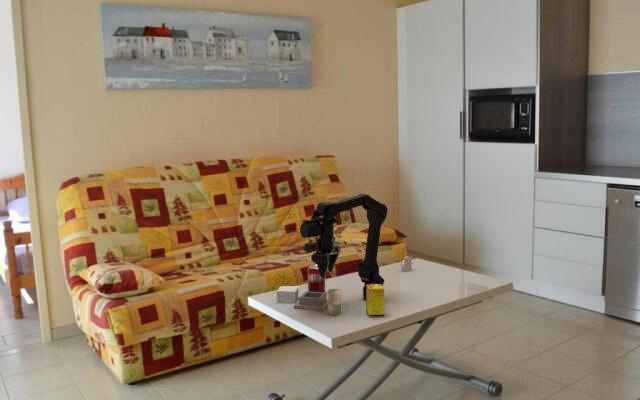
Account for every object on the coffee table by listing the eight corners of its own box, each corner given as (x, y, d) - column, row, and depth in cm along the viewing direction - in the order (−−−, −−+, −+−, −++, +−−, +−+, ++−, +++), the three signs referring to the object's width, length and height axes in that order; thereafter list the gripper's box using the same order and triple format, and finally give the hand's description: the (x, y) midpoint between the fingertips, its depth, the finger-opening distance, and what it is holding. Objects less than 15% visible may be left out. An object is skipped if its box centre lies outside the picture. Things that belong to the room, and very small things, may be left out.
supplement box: (365, 312, 228) (365, 284, 226) (381, 311, 228) (381, 283, 227) (368, 317, 222) (368, 288, 220) (384, 316, 222) (384, 288, 221)
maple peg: (342, 312, 228) (342, 289, 227) (339, 316, 223) (339, 292, 222) (330, 311, 229) (329, 288, 228) (326, 315, 225) (326, 291, 223)
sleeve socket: (331, 301, 241) (331, 291, 240) (323, 310, 230) (323, 300, 229) (303, 299, 244) (303, 289, 244) (293, 308, 233) (293, 298, 232)
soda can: (323, 297, 248) (323, 269, 246) (306, 296, 249) (306, 268, 248) (326, 292, 255) (326, 264, 253) (310, 291, 256) (309, 264, 255)
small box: (295, 303, 240) (295, 291, 239) (276, 303, 241) (276, 290, 240) (298, 298, 247) (298, 286, 247) (280, 297, 248) (280, 285, 248)
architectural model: (398, 272, 290) (398, 257, 289) (407, 269, 295) (407, 254, 294) (404, 273, 288) (404, 258, 287) (412, 270, 292) (413, 255, 291)
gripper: (314, 230, 240) (314, 267, 242) (298, 238, 223) (298, 279, 225) (340, 231, 237) (341, 269, 239) (326, 240, 219) (326, 281, 221)
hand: (326, 274), depth 231 cm, fingers open, 9 cm apart
